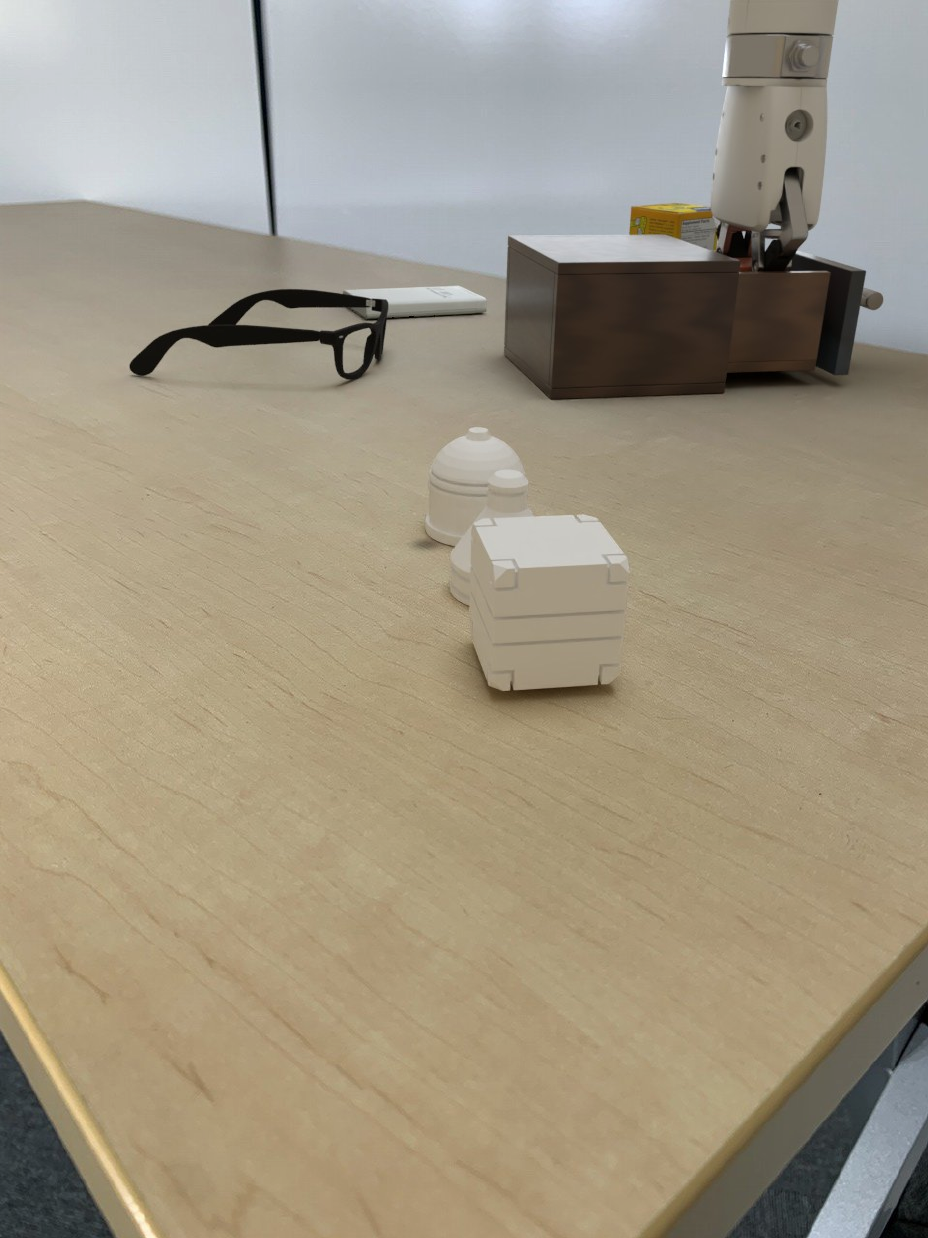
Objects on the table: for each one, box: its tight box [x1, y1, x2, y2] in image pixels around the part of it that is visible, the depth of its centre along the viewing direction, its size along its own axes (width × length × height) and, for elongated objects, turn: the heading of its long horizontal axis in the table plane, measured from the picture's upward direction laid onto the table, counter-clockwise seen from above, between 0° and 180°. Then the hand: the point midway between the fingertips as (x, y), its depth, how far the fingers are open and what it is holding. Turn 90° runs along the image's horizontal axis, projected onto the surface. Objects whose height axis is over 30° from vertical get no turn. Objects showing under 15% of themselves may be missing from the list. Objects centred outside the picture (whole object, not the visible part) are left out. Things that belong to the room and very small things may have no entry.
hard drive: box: [342, 285, 488, 320], centre depth 110 cm, size 2×8×12 cm
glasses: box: [128, 288, 388, 381], centre depth 88 cm, size 17×18×5 cm
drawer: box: [711, 250, 884, 376], centre depth 88 cm, size 17×13×8 cm
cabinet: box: [503, 234, 741, 400], centre depth 86 cm, size 14×15×10 cm
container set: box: [424, 426, 631, 692], centre depth 49 cm, size 20×5×6 cm, turn 9°
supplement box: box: [628, 202, 718, 250], centre depth 102 cm, size 6×6×11 cm
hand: (745, 316), depth 88 cm, fingers closed on block, 4 cm apart
